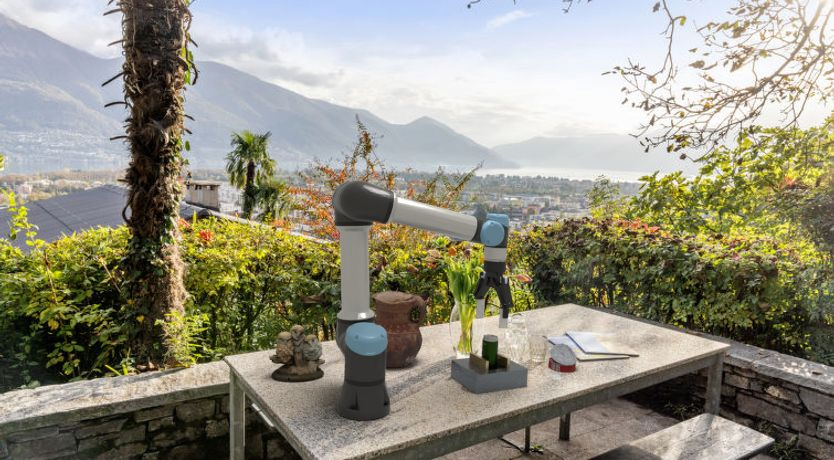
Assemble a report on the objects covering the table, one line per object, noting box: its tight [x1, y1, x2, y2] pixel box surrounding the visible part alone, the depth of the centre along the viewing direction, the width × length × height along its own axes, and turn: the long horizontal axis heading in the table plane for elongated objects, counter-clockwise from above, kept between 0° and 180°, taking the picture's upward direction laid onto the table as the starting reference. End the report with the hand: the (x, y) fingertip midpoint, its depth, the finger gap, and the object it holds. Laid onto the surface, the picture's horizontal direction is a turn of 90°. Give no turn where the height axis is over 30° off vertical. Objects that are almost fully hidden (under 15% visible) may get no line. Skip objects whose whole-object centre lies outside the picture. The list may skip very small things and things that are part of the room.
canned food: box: [547, 343, 578, 374], centre depth 185 cm, size 11×10×10 cm
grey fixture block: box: [450, 351, 529, 395], centre depth 168 cm, size 23×18×9 cm
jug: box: [370, 290, 428, 368], centre depth 182 cm, size 22×21×25 cm
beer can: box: [480, 333, 499, 370], centre depth 167 cm, size 5×5×12 cm
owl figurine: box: [268, 324, 326, 383], centre depth 163 cm, size 18×12×17 cm, turn 108°
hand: (490, 323), depth 166 cm, fingers open, 13 cm apart
